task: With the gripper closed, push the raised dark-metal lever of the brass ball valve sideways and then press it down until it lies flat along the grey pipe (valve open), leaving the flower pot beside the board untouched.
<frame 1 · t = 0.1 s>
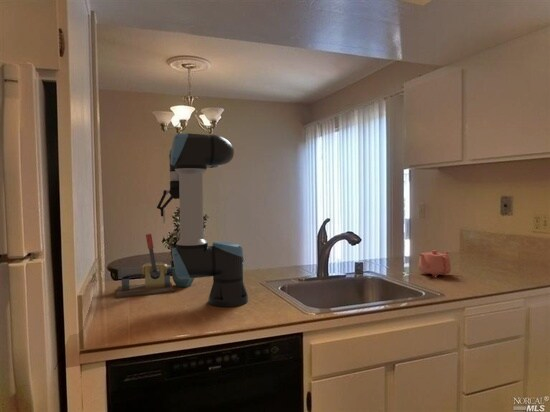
hand: (178, 222, 182), 28 cm above the worktop, fingers open, 13 cm apart
teapot: (434, 275, 185), on the worktop
lever: (152, 256, 155), point 16 cm above the worktop, hinge at 82.0°
mount board: (145, 290, 159), on the worktop
valve: (154, 288, 163), resting on mount board
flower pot: (184, 286, 167), on the worktop
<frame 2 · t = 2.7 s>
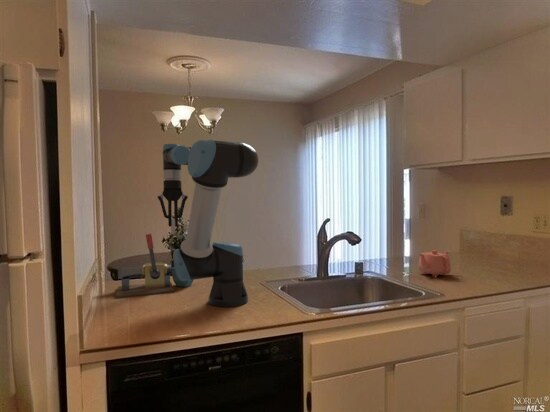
hand: (173, 233, 158), 25 cm above the worktop, fingers closed
nothing on the worktop moved.
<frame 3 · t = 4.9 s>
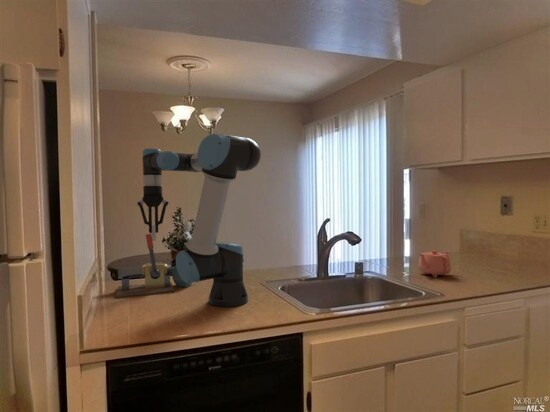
hand: (153, 240, 155), 23 cm above the worktop, fingers closed
lever: (152, 256, 155), point 16 cm above the worktop, hinge at 81.9°, touching gripper
everything else where it was.
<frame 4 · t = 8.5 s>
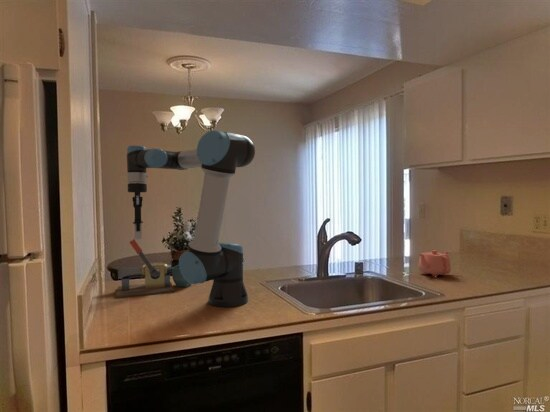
hand: (138, 238, 153), 24 cm above the worktop, fingers closed
lever: (145, 259, 154), point 15 cm above the worktop, hinge at 58.7°, touching gripper
everything else where it was.
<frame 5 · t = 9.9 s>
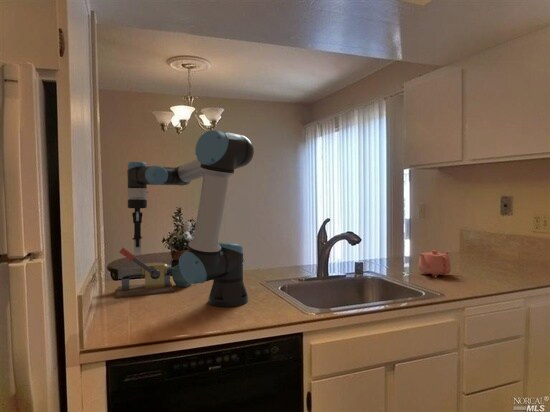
hand: (137, 254, 153), 17 cm above the worktop, fingers closed
lever: (140, 263, 153), point 13 cm above the worktop, hinge at 40.6°, touching gripper
everything else where it was.
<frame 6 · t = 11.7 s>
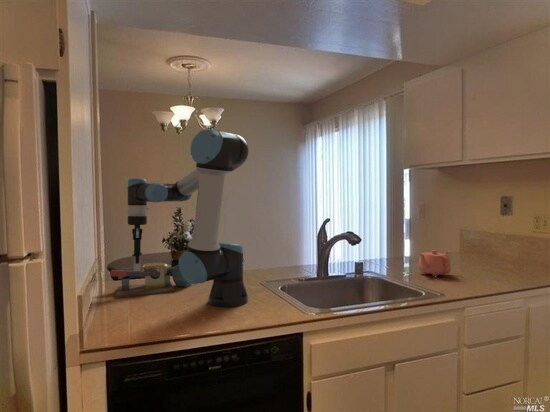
hand: (137, 270, 153), 10 cm above the worktop, fingers closed
lever: (136, 273, 153), point 9 cm above the worktop, hinge at 6.7°, touching gripper
everything else where it was.
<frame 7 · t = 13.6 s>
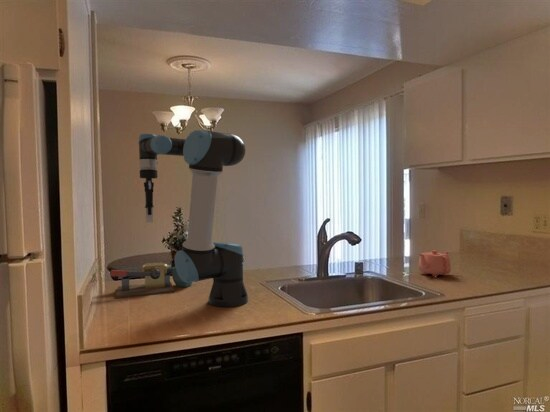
hand: (149, 222, 162), 30 cm above the worktop, fingers closed
lever: (136, 273, 153), point 9 cm above the worktop, hinge at 6.6°
everything else where it was.
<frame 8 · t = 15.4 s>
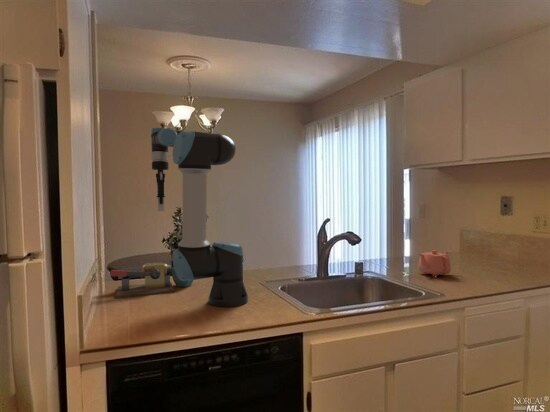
hand: (161, 210, 172), 34 cm above the worktop, fingers closed
nothing on the worktop moved.
at the end: lever at +7° (first picture: +82°); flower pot moved 0.2 cm from its start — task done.
